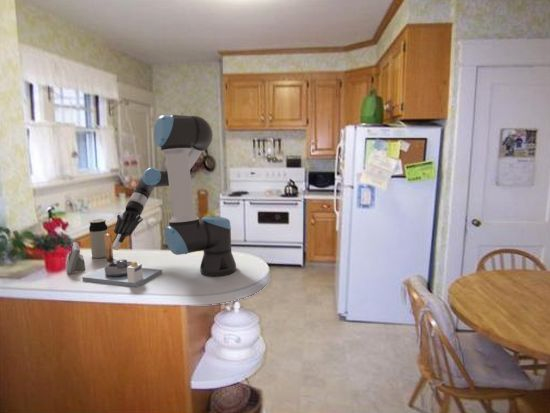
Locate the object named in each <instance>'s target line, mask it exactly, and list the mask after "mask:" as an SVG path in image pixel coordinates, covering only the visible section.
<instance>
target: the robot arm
mask: <svg viewBox="0 0 550 413" xmlns="http://www.w3.org/2000/svg"><path fill="white" fill-rule="evenodd" d="M213 135H214V134H213V129H212V127H211V125H210V123H209V122H208V121H207V120H206V119H204V118H203V117H201V116H198V115H181V114H180V115H179V114H166V115H165V114H164V115H160V116H159V117H158V118H157V119H156V121H155V124H154V128H153V141H154V144H155V145H156V146H157V147H160V152H161V153H163V155H165V159H166V162H165V163H166V169H165V170H158V169H157V168H154V167H149V168H147V169H145V171H144V172H143V173H142V175H141V177H140V179H139V180H138V183H137V185H136V186H135V188H134V190H133V192H132V194H131V196H130V197H129V200H128V201H127V204H126V206H125V210H124V212H122V214H117V215H116V222H115V226H114V230H113V233H114V234H116V235H115V237H114V240H113V242H112V249H114V250H116V251H118V250H119V249H120V246H121V245H122V243H124V241H125V238H126V237H131V236H132V234H133V232H134V231H135V229H136V228H137V226H138V225H139V224H140V223H141V222H142V221H143V218H142V216H141V215H142V213H143V211H144V209H145V206H146V204H147V202H148V200H149V198H150V197H151V194H152V193H153V190H154V189H155V188H161V187H162V188H163V187H169V188H168V190H169V197H170V206H171V207H170V208H171V215H172V216H171V218H170V219H169V220H168V224H169V225H167V226H166V227H165V229H164V237H165V238H164V239H165V243H166V244H167V248H168V249H169V251H171V253H172V254H173V255H177V256H179V255H188V254H190V253H195V252H201V251H203V255H202V259H201V262H200V266H199V268H200V273H201V274H202V275H203V276H206V277H224V276H228V275H231V274H234V273H235V272H236V271H237V264H236V261H235V258H234V255H233V252H232V232H231V230H232V227H231V220H230V219H228V218H226V217H221V216H212V215H211V216H210V215H208V216H203V217H202V218H201V221H200V218H199V217H198V216H197V215H196V214H195V207H194V206H195V204H194V196H193V186H192V177H191V176H192V175H191V169H192V168H193V167H194V165H195V163H196V162H197V161H198V159H199V158H200V156H201V155H202V153H203V152H204V151H207V150H208V149H209V147H210V146H211V144H212V141H213Z"/></svg>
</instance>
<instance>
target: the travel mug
mask: <svg viewBox="0 0 550 413" xmlns="http://www.w3.org/2000/svg"><path fill="white" fill-rule="evenodd" d="M106 220H107V219H106V218H95V219H90V220H89V221H88V222H89V226H88V228H89V229H88V230H89V239H90V240H89V241H90V250H91V257H92V258H94V259H102V258H103V257H104V258H107V257H106V246H105V236H104V235H105V234H109V231H108V230H109V229H108V225H107V223H106Z"/></svg>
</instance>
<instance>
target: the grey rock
mask: <svg viewBox="0 0 550 413" xmlns="http://www.w3.org/2000/svg"><path fill="white" fill-rule="evenodd" d="M72 243H73V242H72ZM71 246H72V245H71ZM80 253H81V250H80V244H79V243H78V242H76V241H74V243H73V246H72V250H71V253H70V252H69V253H68V257H67V260H66V263H67V264H65V266H66V272H67V273H68V274H69V275H72V274H74V273H75V272H82V271H85V270H86V264H85V259H84V255H82V254H80Z"/></svg>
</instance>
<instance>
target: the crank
mask: <svg viewBox="0 0 550 413" xmlns="http://www.w3.org/2000/svg"><path fill="white" fill-rule="evenodd" d="M104 236H105V246H106V257H105V258H106V263H108V264H107V265H106V266H105V267H104V268H105V275H106V276H109V277H121V276H126V275H127V267H129V266H131V263H132V262H133V261H128V260H127V259H118V260H117V259H115V258H114V252H113V251H114V250H113V249H114V248H113V247H112V245H113V241H112V233H108V234H105V235H104Z"/></svg>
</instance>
